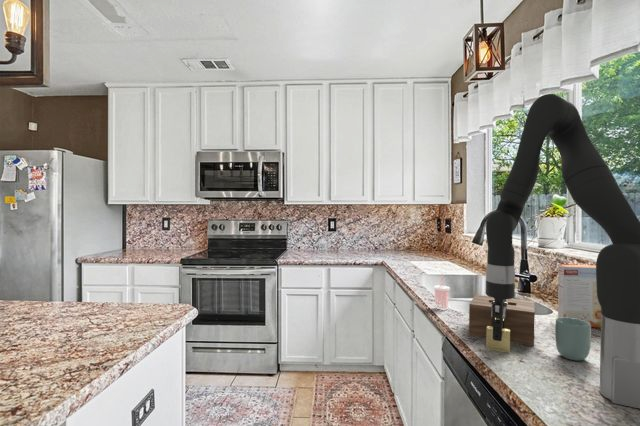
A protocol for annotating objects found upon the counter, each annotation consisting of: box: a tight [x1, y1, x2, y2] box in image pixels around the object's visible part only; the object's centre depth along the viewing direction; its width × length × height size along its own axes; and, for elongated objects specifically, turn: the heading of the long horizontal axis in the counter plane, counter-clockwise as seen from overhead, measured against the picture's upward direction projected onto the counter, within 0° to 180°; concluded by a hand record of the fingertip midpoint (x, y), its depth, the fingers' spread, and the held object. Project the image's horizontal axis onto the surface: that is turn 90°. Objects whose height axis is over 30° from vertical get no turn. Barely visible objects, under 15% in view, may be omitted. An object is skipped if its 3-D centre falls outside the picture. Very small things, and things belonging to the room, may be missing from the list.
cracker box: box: [557, 264, 601, 329], centre depth 129 cm, size 14×6×21 cm, turn 76°
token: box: [485, 326, 511, 354], centre depth 106 cm, size 2×6×6 cm, turn 60°
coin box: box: [468, 294, 536, 347], centre depth 120 cm, size 15×18×10 cm
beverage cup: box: [433, 273, 451, 310], centre depth 148 cm, size 6×6×14 cm
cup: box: [554, 317, 592, 362], centre depth 100 cm, size 8×8×10 cm
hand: (498, 335), depth 106 cm, fingers open, 8 cm apart
